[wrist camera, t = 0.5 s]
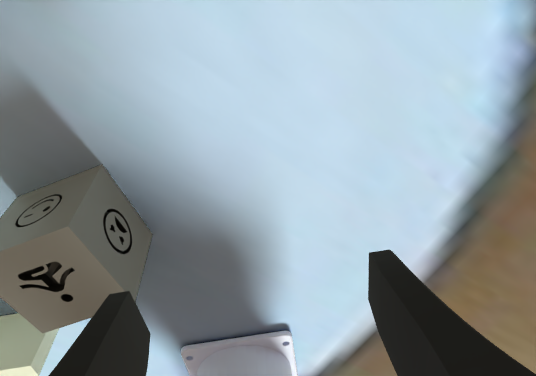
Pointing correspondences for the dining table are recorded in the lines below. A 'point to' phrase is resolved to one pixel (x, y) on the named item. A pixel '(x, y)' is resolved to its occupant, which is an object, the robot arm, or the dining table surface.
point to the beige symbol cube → (70, 249)
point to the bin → (22, 346)
